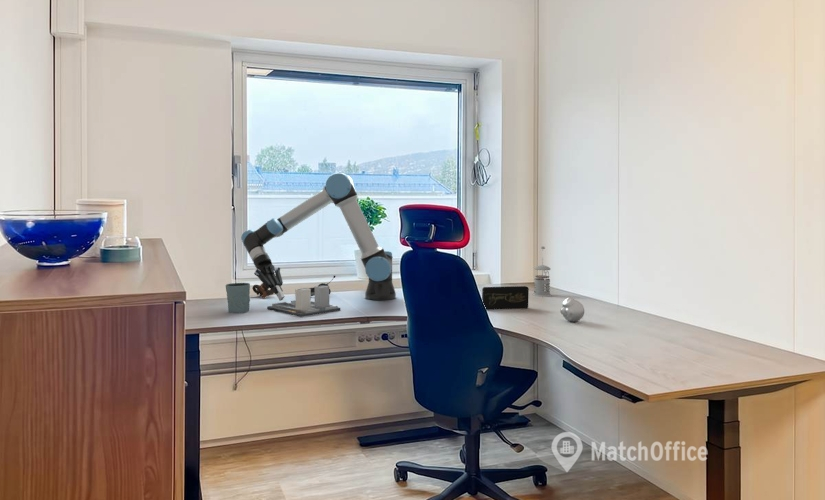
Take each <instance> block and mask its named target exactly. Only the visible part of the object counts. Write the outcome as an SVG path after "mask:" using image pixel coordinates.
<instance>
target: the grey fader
mask: <svg viewBox="0 0 825 500" xmlns="http://www.w3.org/2000/svg"><path fill="white" fill-rule="evenodd" d="M314 287H315V296H314V302H315V306H317V307H322V308H325V307H329V305H330V295H329V289H330V286H329V285H328V286H318V285H317V286H314Z"/></svg>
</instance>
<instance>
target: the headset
mask: <svg viewBox="0 0 825 500" xmlns="http://www.w3.org/2000/svg"><path fill="white" fill-rule="evenodd" d="M334 278H336V275H333V277H332V279H331V280H330V281H329V282H328V283H326V282H325V283H319V284H318V285H317V286H329V284H330V283H331V282H332V281H333V280H334ZM315 287H316V286H314V287H308V288H309V289H311V297H315ZM331 293H332V292H331V288H329V296H330V295H331Z"/></svg>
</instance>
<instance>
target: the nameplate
mask: <svg viewBox="0 0 825 500" xmlns="http://www.w3.org/2000/svg"><path fill="white" fill-rule="evenodd" d="M481 292H482V293H481V294H482V295H481V299H482V300H483V303H484V305H485V307H486V309H487V311H489V310H494V311H495V310H522V309H525V310H527V309H528V308H529V296H530V295H529V287H528V286H526V285H521V286H520V285H519V286H518V285H517V286H513V285H511V286H510V285H509V286H507V285H506V286H484V287H482V291H481ZM482 300H481V301H482Z"/></svg>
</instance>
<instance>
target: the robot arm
mask: <svg viewBox="0 0 825 500" xmlns="http://www.w3.org/2000/svg"><path fill="white" fill-rule="evenodd" d="M358 197H359V194H358V193H357V191H356V188H355V184H354V181H353V178H352V177H350V176H349V175H348V174H346V173H344V172H334V173H332V174H330V176H328V177H327V179H326V182H325V185H324V186H323V188H322V190H320V191H318V192H317V193H315V194H314V195H313V196H311V197H309V198H307V199H306V200H305V201H303V202H302V203H300V204H298V205H297V206H295V207H294V208H293V209H291V210H289V211H287V212H286V213H285V214H283V215H282V216H280V217H278V218H277V219H276V218H275V217H274V218H271V219H270V220H267V222H265V223H264V224H262V225H261V226H260V227H259V228H258V229H256V230H254V229H248V230H246V231H244V232H242V234H241V242H242V243H243V246H244V248H245V249H246V251H247V253H248V255H249V257H250V259H251V261H252V262H253V265H254V267H255V268H256V269H255V271H254V273H253V274H254V276H256V277H258V279H259V281H260V282H261V283H263V284H264V285H265V286H266V287H267V288H268V289H269V290H273V292H274V295H276V297H277V298H278V300H279V301H281V302H282V301H283V300H284V299H285V293H284V290H283V288H282V285H283V284H284V281H283V277H282V273H281V267H275V265H274V264H273V262H272V259H271V257H270V256H269V255H268V254H269V253H268V251H267V250H266V248H265V246H264V245H266V244H267V243H268V242H269V241H271V240H273V239H274V238H275V239H276V238H279V237H281V236H284V234H285V233H286V232H288V231H289V230H291V229H293V228H294V227H297V226H298V225H299V224H300V223H303V221H305V220H307V219H308V218H310V217H311V216H313V215H315V214H317V213H318V212H319V211H321V210H322V209H325V208H326V207H327V206H329V205H331V204H334V205H335V207H337V208H339V210H340V211H341V213H342V215H343V217H344V219H345V222H346V223H347V226H348V227H349V230H350V232H351V234H352V236H353V238H354V240H355V243H356V244H357V247H358V249H359V251H360V253H361V256H360V260H361V262H362V264H363V267H364V268H365V274H366V276H367V277H368V283H367V286H366V290H365V293H364V294H365V295H364V298H365V299H367V300H374V301H385V300H387V301H388V300H394V299H396V297H397V292H396V290H395V287H394V283H393V253H392V252H391V251H390V250H389V251H388V250H387V251H386V250H384V247H381V246H379V245H378V242H377V240H376V238H375V236H374V234H373V231H372V230H371V228H370V226H369V224H368V221H367V219H366V216H365V215H364V213H363V211H362V208H361V207H360V205H359V202H358Z"/></svg>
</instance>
